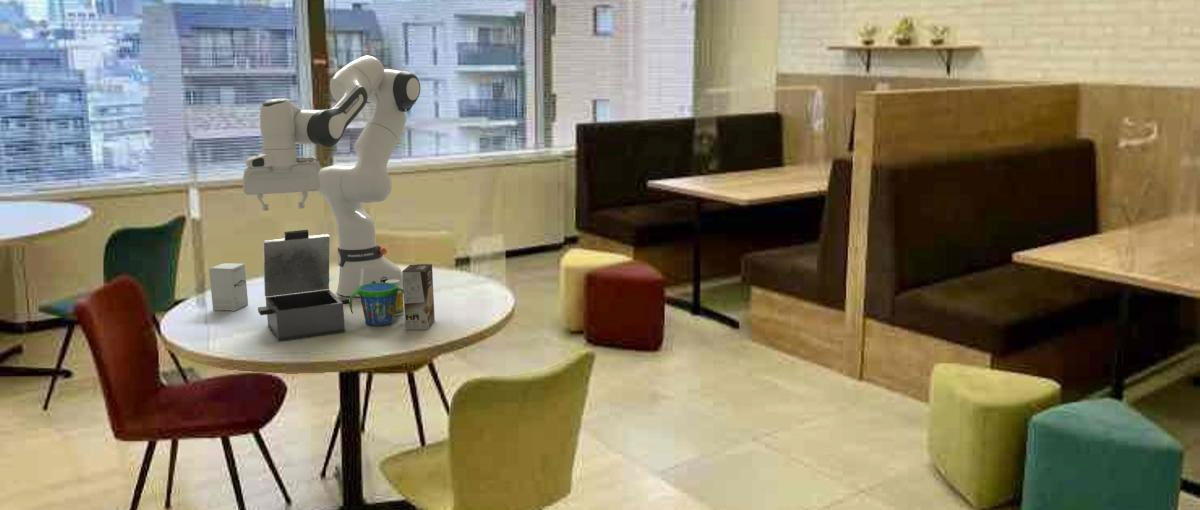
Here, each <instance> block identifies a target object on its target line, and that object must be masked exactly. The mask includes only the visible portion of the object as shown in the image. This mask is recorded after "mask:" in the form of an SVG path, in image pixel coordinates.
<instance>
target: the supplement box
mask: <svg viewBox="0 0 1200 510" xmlns="http://www.w3.org/2000/svg"><path fill="white" fill-rule="evenodd" d="M245 266H246V263H235V262H233V263H232V262H231V263H228V262H227V263H226V262H224V263H221V264H217V265H215V266H212V267H209V269H208V271H209V272H208V273H209V280H210V281H209V283H210V292H211V302H212V303H211V305H212V311H221V310H231V311H230V312H235V311H237V310H239V309H241V308H243V307H246V306H248V305H249V298H248V287H247V277H246V276H247V275H246V267H245Z"/></svg>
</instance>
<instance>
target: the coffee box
mask: <svg viewBox="0 0 1200 510" xmlns="http://www.w3.org/2000/svg"><path fill="white" fill-rule="evenodd" d="M401 272H402V276H403V306H404V313H403V314H404V329H405V330H406V331H407V330H408V331H413V330H414V331H415V330H416V331H418V330H421V331H423V330H429V329H430V327H431V326H432V325H433V324H434V323H435V319H436V317H435V299H434V298H435V297H434V280H433V264H430V263H429V264H428V263H425V264H424V263H422V264H409V265H408V266H406V267H405V268H404V269H403V270H401Z"/></svg>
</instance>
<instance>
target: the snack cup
mask: <svg viewBox="0 0 1200 510" xmlns="http://www.w3.org/2000/svg"><path fill="white" fill-rule="evenodd" d="M399 290H401V291H402V292H403V289H402V288H400V287H398V286H397V285H395V284H392V283H371V284H366V285H362V286H360V287H359V288H358V289H357V290H356V291H354V292H353V293H352V295H351V296H349V304H348V306H349V310H350V312H351V314H352V315H353V314H354V311H353V298H354V297H355V296H354V295H355V294H359V295H360V297H359V298H360V302H361V307H362V311H363V315H364V321H365V324H367V325H369V326H376V327H377V326H383V325H390V324H392V323H393V322H394V319H395V316H394V312H395V301H396V296H397V292H398V291H399Z"/></svg>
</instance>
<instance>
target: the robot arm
mask: <svg viewBox="0 0 1200 510" xmlns="http://www.w3.org/2000/svg"><path fill="white" fill-rule="evenodd" d="M329 81H330V82H329V90H330V93H331V96H332V97H333V99H334V100H335V102H336V104H335V105H334V107H332V108H328V109H303V108H301V107H298V106H297V105H295V104H294V103H292V102H291V99H289V98H286V97H278V98H277V97H276V98H271V99H267V100H265V101H264V102H263V103H262V104H261V107H260V112H259V113H260V114H259V115H260V117H259V122H260V126H259V127H260V134H261V137H262V145H261V150H262V152H261V153H259V154H255V155H253V156H252V155H251V156H249V157H247V158H246V160H245V164H246V166H247V167H246V168H245V169H244V170H243V171H244V172H243V176H242V191H243V193H244V194H245V195H247V196H253V195H254V196H255V195H256V198H257V199H258V201H259V202H260V203H261V207H262V211H269V203H268V202H267V203H266V202H264V200H263V198H264V195H267V194H268V195H269V194H273V195H274V194H287V193H289V194H291V193H301V196H302V198H301V200H300V201H297V204H298V205H297V207H298V209H305V202H306V200H307V199H308V196H309V192H318V193H319V195H320V196H321V197H323V199H325V201H326V203H328V206H329V207H330V209H331V211H332V213H333V216H334V219H335V222H336V227H337V228H336V229H337V237H338V248H337V261H338V262H337V263H338V266H339V273H338V274H339V278H338V284H337V289H336V294H337V295H340V296H342V297H344V296H346V297H351V295H352V293H353V292H354V291H356V290H357V289H358V288H359V287H360V286H362V285H366V284H371V283H385V281H387V280H399V281H400V286H399V287H401V288H402V289H403V276H402V269H401V268H400V267H399V266H398V265H396V264H395V263H394V262H392V261H391V260H389V259H387V258H386V257H384V256H383V255H386V254H387V253H388V250H387V248H386V247H384V246H380V245H378V244H377V240H376V225H375V221H374V218H373V217H372V216H370V214H368V213H367V212H366V210H365V209H364V207H363V204H373V203H380V202H383V201H385V200H387V198H388V197H389V196H390V194H391V192H392V191H391V190H392V186H393V185H392V179H391V177H390V175H389V173H388V172H387V170H388V169H387V166H388V162H389V160H390V157H392V155H393V151H394V150H395V148H396V147H397V144H398V142H400V141H399V140H400V138H401V136H402V135H403V131H404V129H405V126H406V122H407V115H406V112H408V111H410V110H411V109H412V108H413V106H414V105H415V104H416V102H417V101H418V99H419V97H420V94H421V83H420V81H419V78H418V76H417V75H415V74H414V73H412V72H411V71H408V70H397V69H391V68H384V65H383V64H382V62H381V61H380V59H378V58H376V57H374V56H372V55H363V56H360V57H357V58H356V59H353V60H352V61H351V62H349V63H348V64H346V65H344V66H343V67H342V68H340V69H339V70H337V72H335V74H334V75H333V76H332V78H331V79H330V80H329ZM366 104H373V105H374V104H375V111H374V112H373V114H372V115H371V116H370V118H369V119H368V121H367V122H366V124H365V126H364V127H363V129H362V131H361V132H360V134H359V136H358V138H357V139H356V142H355V143H354V151H355V154H356V155H357V157H358V160H357V163H356V164H354V165H347V164H346V165H345V164H334V165H329V166H325V167H323V168H321V163H320V161H319V160H318V159H317V158H314V157H298V154H297V145H308V146H309V145H311V146H313V145H314V146H320V147H328V148H329V147H331V148H332V147H334V146H335V145H337V144H338V142H339V141H340V140H342V139H341V138H342V137H343V135H344V133H345V131H346V129H347V128H348V126H349V125H350V124H351V123H352V122H353V120H354V119H355V118H356V117H357V116H358V115H359V113H360V112H361V111H363V109H364V107H365V106H366ZM362 203H363V204H362ZM353 297H355V298H356V297H359V298H361V297H360V295H359V294H355V295H354V296H353Z"/></svg>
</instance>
